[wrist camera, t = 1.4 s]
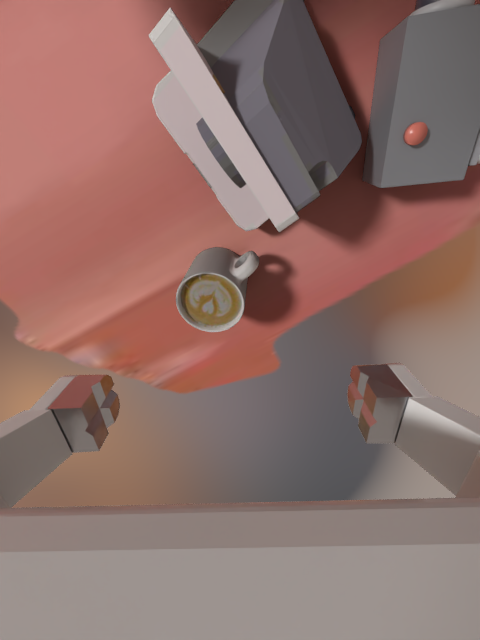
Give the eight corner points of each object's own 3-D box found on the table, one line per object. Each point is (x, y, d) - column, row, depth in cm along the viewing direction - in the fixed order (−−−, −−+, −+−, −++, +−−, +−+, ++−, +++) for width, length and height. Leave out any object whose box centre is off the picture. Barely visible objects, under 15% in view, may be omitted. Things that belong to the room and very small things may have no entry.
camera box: (383, 13, 29) (418, -23, 22) (477, -3, 28) (542, -46, 21) (362, 180, 38) (382, 189, 31) (432, 173, 37) (469, 180, 30)
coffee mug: (210, 308, 51) (200, 341, 43) (179, 263, 46) (161, 290, 38) (275, 278, 47) (278, 308, 38) (248, 226, 42) (244, 247, 34)
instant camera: (147, 79, 33) (79, 44, 21) (308, -52, 27) (348, -215, 15) (230, 233, 43) (218, 272, 31) (363, 164, 37) (414, 177, 24)
